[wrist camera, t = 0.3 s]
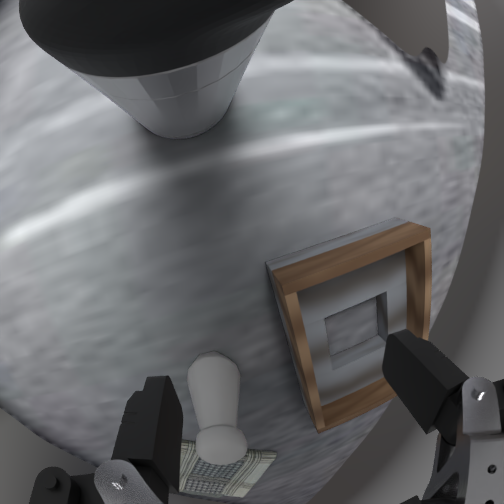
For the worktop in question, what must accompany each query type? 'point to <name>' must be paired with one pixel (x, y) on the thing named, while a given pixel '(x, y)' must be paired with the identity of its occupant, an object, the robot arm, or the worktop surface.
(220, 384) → the salt shaker
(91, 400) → the worktop surface
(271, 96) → the worktop surface
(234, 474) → the dish towel
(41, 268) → the worktop surface
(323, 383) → the bore box
